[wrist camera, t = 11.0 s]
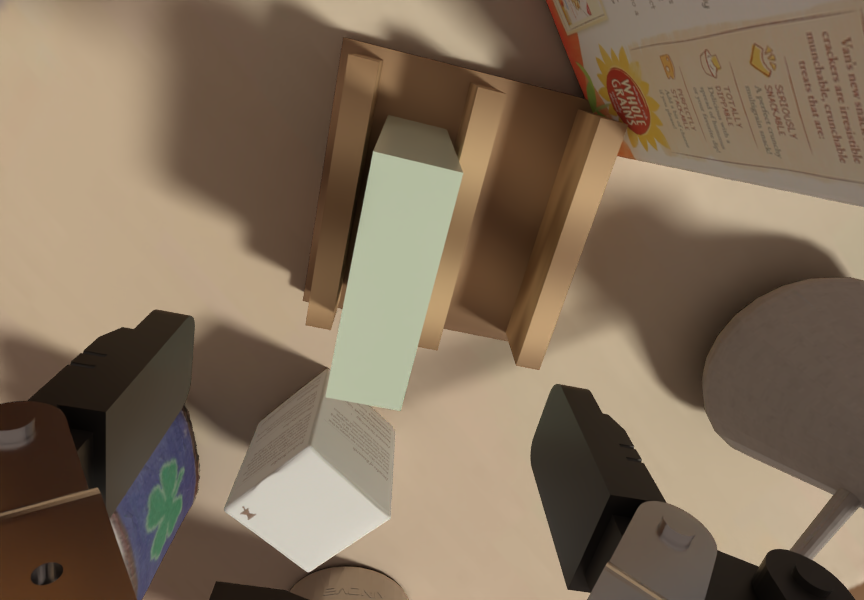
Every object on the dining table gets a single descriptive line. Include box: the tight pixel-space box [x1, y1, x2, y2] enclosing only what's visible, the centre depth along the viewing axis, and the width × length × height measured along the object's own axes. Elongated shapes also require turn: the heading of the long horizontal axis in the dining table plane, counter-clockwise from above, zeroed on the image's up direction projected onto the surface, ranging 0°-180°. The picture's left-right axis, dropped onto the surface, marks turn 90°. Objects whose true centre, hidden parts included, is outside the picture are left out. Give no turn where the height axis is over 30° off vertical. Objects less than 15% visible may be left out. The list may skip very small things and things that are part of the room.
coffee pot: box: [702, 277, 864, 560], centre depth 27 cm, size 21×12×15 cm, turn 128°
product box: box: [224, 368, 395, 572], centre depth 31 cm, size 6×6×7 cm
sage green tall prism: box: [325, 115, 463, 411], centre depth 23 cm, size 3×9×10 cm, turn 166°
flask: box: [110, 405, 200, 600], centre depth 30 cm, size 9×3×11 cm, turn 174°
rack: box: [303, 37, 628, 370], centre depth 27 cm, size 13×13×4 cm
